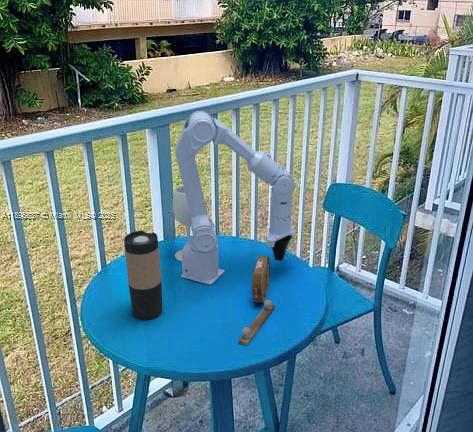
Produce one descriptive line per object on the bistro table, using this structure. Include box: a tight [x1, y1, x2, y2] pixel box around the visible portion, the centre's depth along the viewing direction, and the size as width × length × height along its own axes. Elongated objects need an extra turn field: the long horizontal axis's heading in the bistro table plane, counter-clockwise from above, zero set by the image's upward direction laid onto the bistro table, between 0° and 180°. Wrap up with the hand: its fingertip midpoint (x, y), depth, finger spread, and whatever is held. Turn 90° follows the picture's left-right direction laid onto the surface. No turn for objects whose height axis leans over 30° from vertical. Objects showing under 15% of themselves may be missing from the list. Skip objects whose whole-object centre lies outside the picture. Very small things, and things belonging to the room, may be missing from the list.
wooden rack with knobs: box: [238, 299, 276, 347], centre depth 110 cm, size 2×16×3 cm, turn 154°
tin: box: [251, 255, 271, 304], centre depth 121 cm, size 15×3×8 cm, turn 169°
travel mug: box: [123, 230, 163, 321], centre depth 111 cm, size 8×8×20 cm
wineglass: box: [172, 185, 192, 262], centre depth 137 cm, size 9×9×21 cm
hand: (279, 259), depth 132 cm, fingers closed
